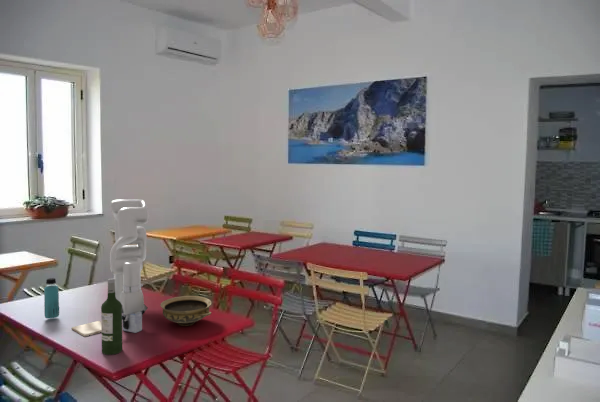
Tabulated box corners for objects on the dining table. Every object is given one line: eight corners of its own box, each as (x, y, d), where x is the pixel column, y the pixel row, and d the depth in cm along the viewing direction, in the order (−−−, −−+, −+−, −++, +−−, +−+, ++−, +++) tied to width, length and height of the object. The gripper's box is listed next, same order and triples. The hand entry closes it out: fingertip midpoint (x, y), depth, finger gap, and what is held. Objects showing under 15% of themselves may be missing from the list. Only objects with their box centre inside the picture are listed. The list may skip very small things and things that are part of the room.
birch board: (99, 322, 230) (99, 320, 230) (112, 329, 222) (112, 327, 221) (71, 329, 220) (71, 327, 220) (84, 336, 212) (84, 334, 212)
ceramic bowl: (144, 324, 229) (144, 303, 229) (181, 311, 250) (181, 292, 249) (191, 337, 214) (191, 315, 213) (226, 322, 235) (226, 302, 234)
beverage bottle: (53, 322, 230) (52, 280, 228) (41, 320, 231) (40, 279, 229) (62, 317, 236) (61, 277, 234) (50, 316, 237) (49, 276, 236)
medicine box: (142, 330, 221) (142, 312, 220) (135, 333, 217) (135, 314, 216) (129, 327, 224) (129, 309, 224) (122, 330, 220) (122, 312, 220)
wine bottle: (97, 353, 194) (96, 280, 192) (111, 346, 202) (110, 275, 199) (112, 356, 192) (112, 282, 189) (126, 349, 199) (126, 277, 196)
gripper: (144, 283, 228) (144, 320, 229) (109, 290, 215) (110, 329, 217) (153, 286, 223) (153, 324, 225) (118, 293, 210) (118, 334, 212)
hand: (132, 326), depth 221 cm, fingers closed on medicine box, 5 cm apart
